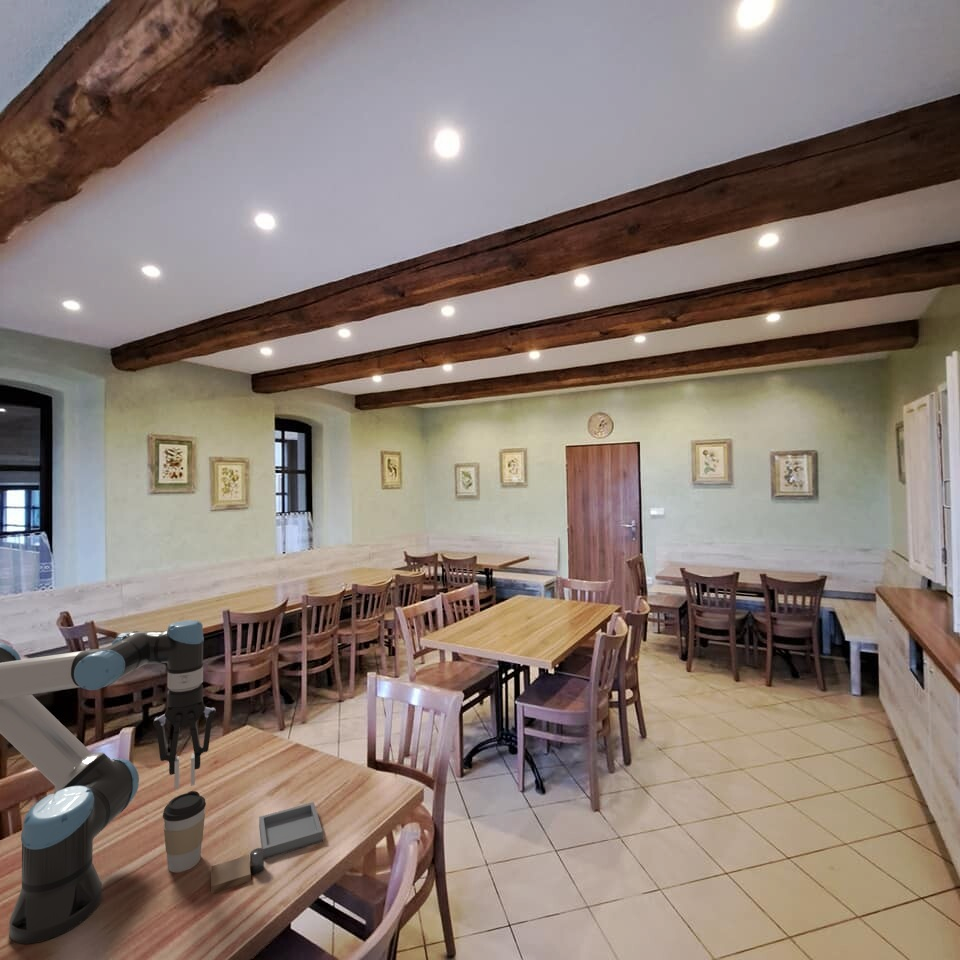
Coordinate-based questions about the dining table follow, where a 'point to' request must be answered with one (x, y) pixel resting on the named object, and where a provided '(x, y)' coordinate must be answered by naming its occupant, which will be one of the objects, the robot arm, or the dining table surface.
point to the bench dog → (257, 861)
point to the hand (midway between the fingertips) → (184, 784)
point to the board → (230, 874)
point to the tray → (290, 830)
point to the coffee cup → (184, 830)
